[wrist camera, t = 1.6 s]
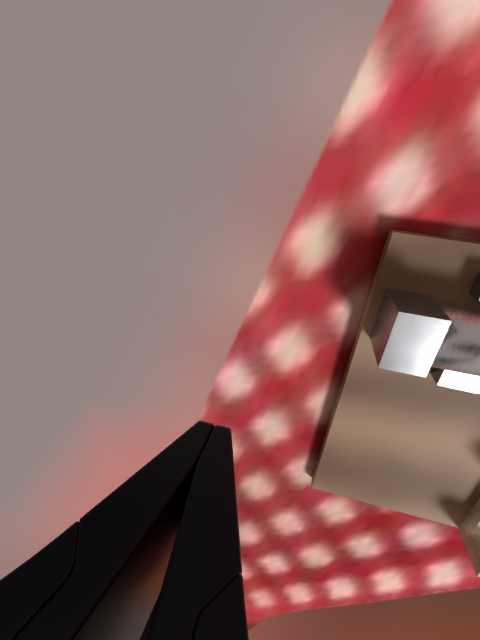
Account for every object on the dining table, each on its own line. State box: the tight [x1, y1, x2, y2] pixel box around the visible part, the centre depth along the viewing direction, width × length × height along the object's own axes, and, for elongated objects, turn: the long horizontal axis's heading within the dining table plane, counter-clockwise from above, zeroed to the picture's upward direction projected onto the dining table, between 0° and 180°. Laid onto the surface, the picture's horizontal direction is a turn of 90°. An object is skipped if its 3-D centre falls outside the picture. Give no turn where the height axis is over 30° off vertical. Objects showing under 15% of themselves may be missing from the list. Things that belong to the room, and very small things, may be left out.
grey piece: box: [370, 288, 480, 378], centre depth 14 cm, size 8×3×3 cm, turn 84°
